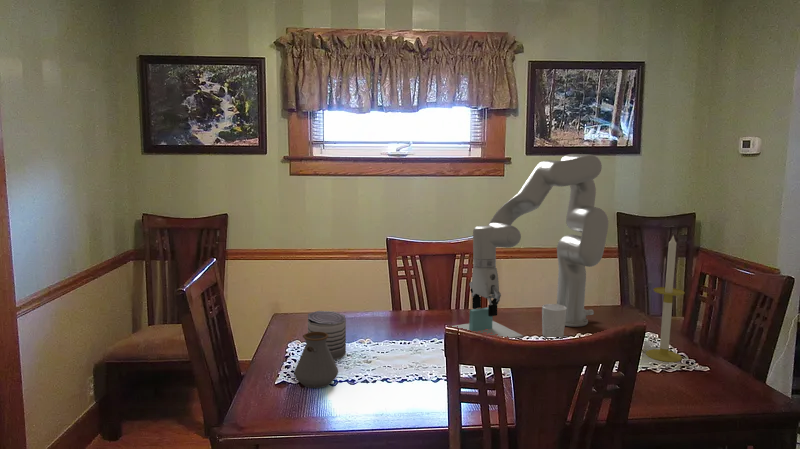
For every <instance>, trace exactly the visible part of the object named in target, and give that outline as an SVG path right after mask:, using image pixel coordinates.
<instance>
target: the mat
mask: <svg viewBox="0 0 800 449" xmlns="http://www.w3.org/2000/svg"><path fill="white" fill-rule="evenodd" d="M451 326H452V327H457V326H458V328H463V329H467V330H469V323H463V324H457V325H456V324H455V325H451ZM479 331H481V332H480V333H483V332H487V334H488V333H491V332H492V333H493V334H490V335H495V334H498V335H497V336H503V337H507V336H508V337H509V338H515V339H518V338H517V337H521V338H524V335H523V334H521V333H519V332H518V331H515V330H513V329H510V328H509V327H507V326H505V325H503V324H501V323H498V322H496V321H495V320H493V321H492V329H488V330H484V331H483V330H479ZM476 332H478V331H476Z"/></svg>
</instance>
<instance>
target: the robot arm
mask: <svg viewBox="0 0 800 449" xmlns="http://www.w3.org/2000/svg"><path fill="white" fill-rule="evenodd" d="M602 167H603V166H602V162H601V160H600V158H599V157H598V156H596V155H593V154H586V153H585V154H583V153H569V154H565V155H564V156H562V157H561V159H560V160H550V159H549V160H548V159H547V160H542V161H540V162H538V163H537V165H536V166H535V167H534V169H533V170H532V172H531V173H530V175H529V176H528V177H527V179H526V180H525V182H524V183H523V185H522V187H521V188H520V189H519V191H518V192H517V193H516V194H515V195H514V196H512V197H511V198H510V199H509V200H508V201H507V202H505V203H504V204H503V205H502V206H501V207H500V208H499V209H498V210H496V213H494V215H493V216H492V218H491V219H490V221H489V222H488V224H487V225H478V226H475V227H474V228H473V231H472V241H473V242H472V247H473V248H472V255H473V257H472V264H473V266H472V267H473V268H472V276H471V277H472V278H471V281H470V282H469V287H470V293H471V297H472V298H471V301H472V306H471V308H472V309H479V308H482V298H485V299H487V301H488V303H489V304H488V316H490V317H491V316H493V317H496V316H498V305H499V302H500V301H501V300H500V299H501V297H502V293H501V292H500V285H499V284H500V282H499V273H498V269H497V254H496V253H497V251H496V250H497V248H504V249H505V248H514V247H516V246H517V245H518V244H519V243H520V242H521V240H522V233H521V232H520V230H519V229H518V227H516V226H513V225H512V224H513V223H514V222H515V221H516V220H518V219H519V217H521V216H523V215H526V214H527V213H530V212H533V211H535V210H536V209H539V208H540V207H541V205H542V204H543V202H544V200H545V199H546V198H547V196H548V194H549V193H550V192H551V190H552V188H553V187H570V189H569V190H570V194H569V195H570V196H569V201H568V206H567V211H566V220H565V224H566V226H567V228H568V229H570V230H572V231H575V232H578V233H581V235H578V234H566V235H563V236H562V237H561V238H560V239H559V240H558V242H557V245H556V246H557V247H556V257H557V262H558V263H557V264H558V269H557V270H558V271H557V272H558V274H557V275H558V276H557V289H556V290H557V294H556V304H558V305H563V306H565V307H566V308H567V310H566V320H565V327H572V328H573V327H575V328H576V327H577V328H579V327H585V326H587V325H588V324H589V319H588V318H587V316H592V315H594V313H595V311H594V310H593V309H586V308H585V301H586V299H585V298H586V284H587V269H586V267H587V268H590V267H595V266H597V265H598V264H599V263H600V262H601V260H602V259H603V255H604V252H605V251H604V250H605V247H606V246H605V245H606V241H607V234H608V230H609V218H608V214H607V213H606V211H604V210H603V209H602V208H601V207H596V206H595V203H596V195H597V194H596V193H597V192H596V191H597V188H596V183H595V181H594V180H595V179H596V178H598V177H599V175H600V174H601V172H602V169H603V168H602Z"/></svg>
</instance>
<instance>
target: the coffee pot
mask: <svg viewBox="0 0 800 449" xmlns="http://www.w3.org/2000/svg"><path fill="white" fill-rule="evenodd" d="M302 338H303V339H304V340H305V343H306V344H305V346H304V347H303V350H302V353H301V356H300V358H299V359H298V362H297V364H296V367H295V370H294V373H293V374H294V376H295V378H296V380H297V381H298V382H299V383H300V384H302V386H304V387H306V388H311V389H317V388H319V389H320V388H324V387H327V386H329V385H331V384H332V382H334V380H335V379H336V378H337V376H338V373H339V369H338V366H337V364H336V362H335V360H334V359H333V357H332V355H331V353H330V350H329V348H328V346H327V344H326V340H327V338H328V334H327V333H325V332H310V333H308V332H306V333H304V334H303V335H302Z"/></svg>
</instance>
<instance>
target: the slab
mask: <svg viewBox="0 0 800 449" xmlns="http://www.w3.org/2000/svg"><path fill="white" fill-rule="evenodd" d="M493 318H494V316H491V317H490V316H488V307H481V308H477V309H473V308H472V309H469V318H468V319H469V322H468V324H469V330H471V331H479V330H485V329H492V321H494V320H493Z"/></svg>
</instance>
